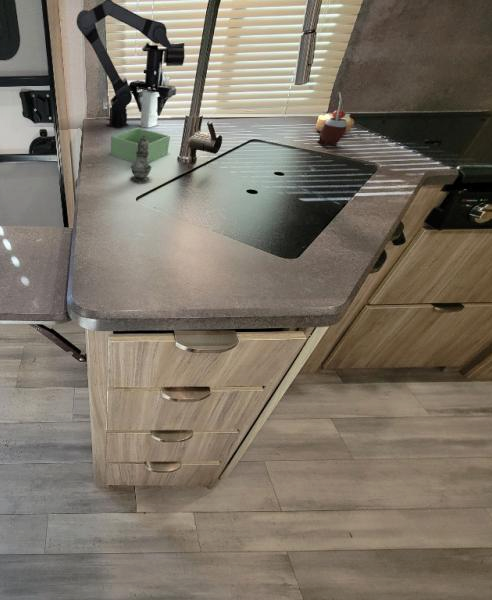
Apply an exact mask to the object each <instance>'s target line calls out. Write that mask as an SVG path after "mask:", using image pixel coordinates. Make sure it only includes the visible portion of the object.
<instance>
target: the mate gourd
mask: <svg viewBox="0 0 492 600" xmlns="http://www.w3.org/2000/svg"><path fill="white" fill-rule="evenodd" d="M338 98H339V101H338V107H337V110H338V111H337V116H336V118H330V119H328V120H327V121H326V122H325V124H324V125H323V127H322V130H321V132H320V133H319V139H318V140H317V141H316V142H317V143H318V144H322V145H321V146H322V147H326V146H330V147H334V148H336V147H337V146H338V143H339V142H340V141H341V140H342V138H343V134H344V133H345V131H346V128H347V121H346V120H345V119H342V118H338V115H339V111H340V110H341V108H342V107H341V106H342V104H343V99H342V93H341V92H340V91H338ZM345 134H346V133H345ZM345 134H344V135H345Z"/></svg>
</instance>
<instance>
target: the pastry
mask: <svg viewBox="0 0 492 600" xmlns="http://www.w3.org/2000/svg"><path fill="white" fill-rule="evenodd" d="M341 106H342V107H341V109H340V111H339V115H338V118H342V119H345V120H346V121H347V128H346V131H345V133H344V134H343V135H346V134H347V133H349V131H350V130H351V129H352V128H353V125H354V124H355V120H354V119H353V118H352V117H350V116H349V115H347V114H346V112H345V111H344V105H341ZM337 111H338V109H335V110H334V111H333V113H331V112H329V113H328V112H327V113H322V114H321V115H319V116H318V118H317V121H316V130H317V131H318V132H320V133H321V130H322V127H323V125H324V124H325V122H326V121H327V120H328V119H330V118H336V116H337Z"/></svg>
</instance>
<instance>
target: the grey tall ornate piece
mask: <svg viewBox="0 0 492 600" xmlns="http://www.w3.org/2000/svg"><path fill="white" fill-rule="evenodd" d="M148 145H149V141H148V140H147V139H146V138H145V135H144V136H143V138H142V139H140V140H139V141H138V150H137V152H136V154H137V159H136V163H135V162H134V163H133V164H131V165H130V169H131V173H132V175H133V176H132V177H130V181H132V182H133V183H134V184H135V183H136V184H147V183H149V182H150V178H149V177H148V176H149V174H150V172H151V171H152V168H153V167H152V165H150V164H149V162H148V163H147V158H148V154H149V152H148Z"/></svg>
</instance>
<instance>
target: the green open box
mask: <svg viewBox="0 0 492 600" xmlns="http://www.w3.org/2000/svg"><path fill="white" fill-rule="evenodd" d="M144 135H145V138H146V139H147V140H148V141H149V145H148V152H149V154H148V158H147V163H148V164H149V163H151V162H153V161H155V160H157V159H159V158H162V157H164V156H167V155H168V154H169V153H168V152H169V146H170V138H171V136H170V135H168V134H164V133H159V132H156V131H152V130H147V129H145V128H144V129H143V128H140V127H135V128H132V129H130V130H127V131H124V132H120V133H118V134H114V135H111V136H110V155H111V156H114V157H117V158H120V159H123V160H126V161H129V162H132V163H134V164H135V163H136V159H137V154H136V152H137V150H138V141H139V140H140V139H142V138H143V136H144Z"/></svg>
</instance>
